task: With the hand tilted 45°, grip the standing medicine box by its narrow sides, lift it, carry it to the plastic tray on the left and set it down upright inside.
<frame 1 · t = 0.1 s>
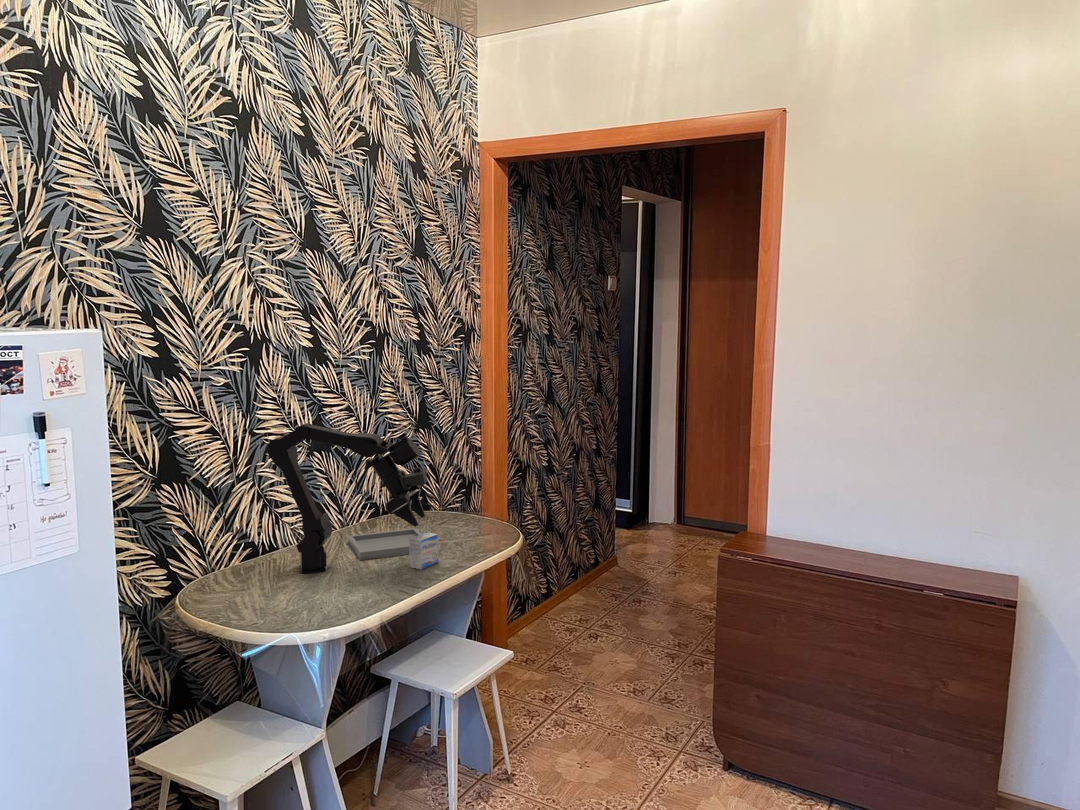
hand: (420, 521, 210), 15 cm above the table, tool tilted 35°, fingers open, 9 cm apart
medicine box: (424, 565, 218), on the table
tray: (389, 547, 234), on the table
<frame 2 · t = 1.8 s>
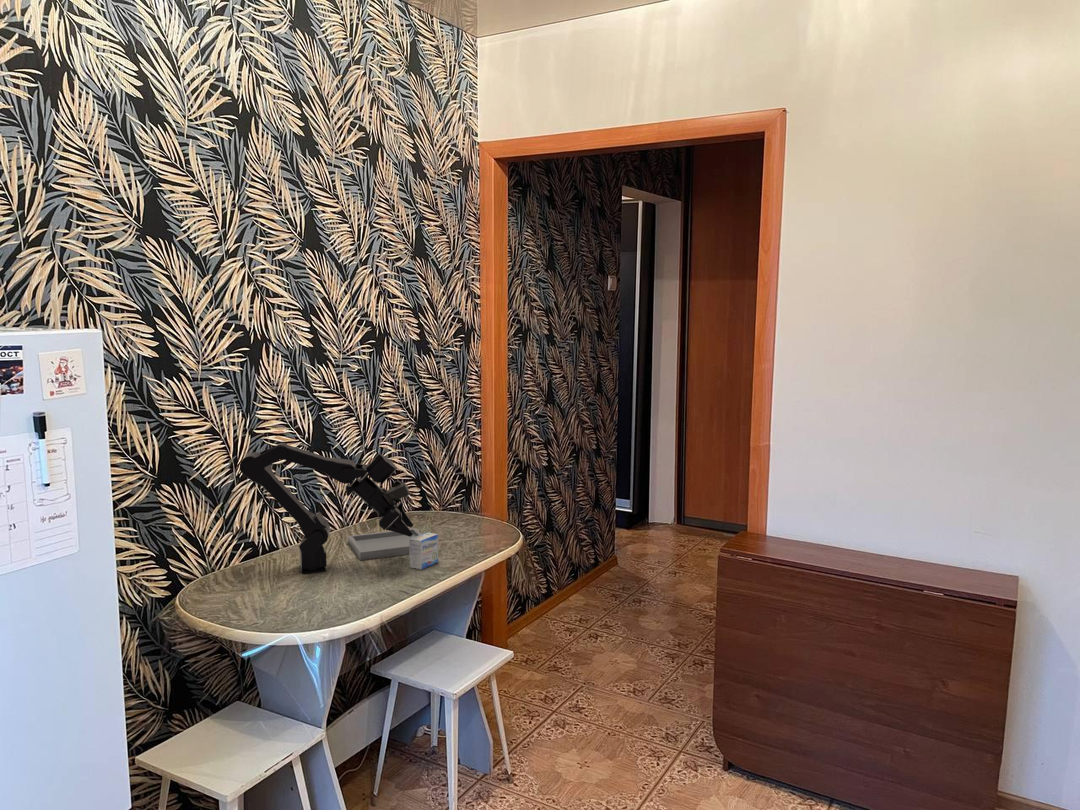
hand: (412, 530, 217), 10 cm above the table, tool tilted 45°, fingers open, 9 cm apart
nothing on the table moved.
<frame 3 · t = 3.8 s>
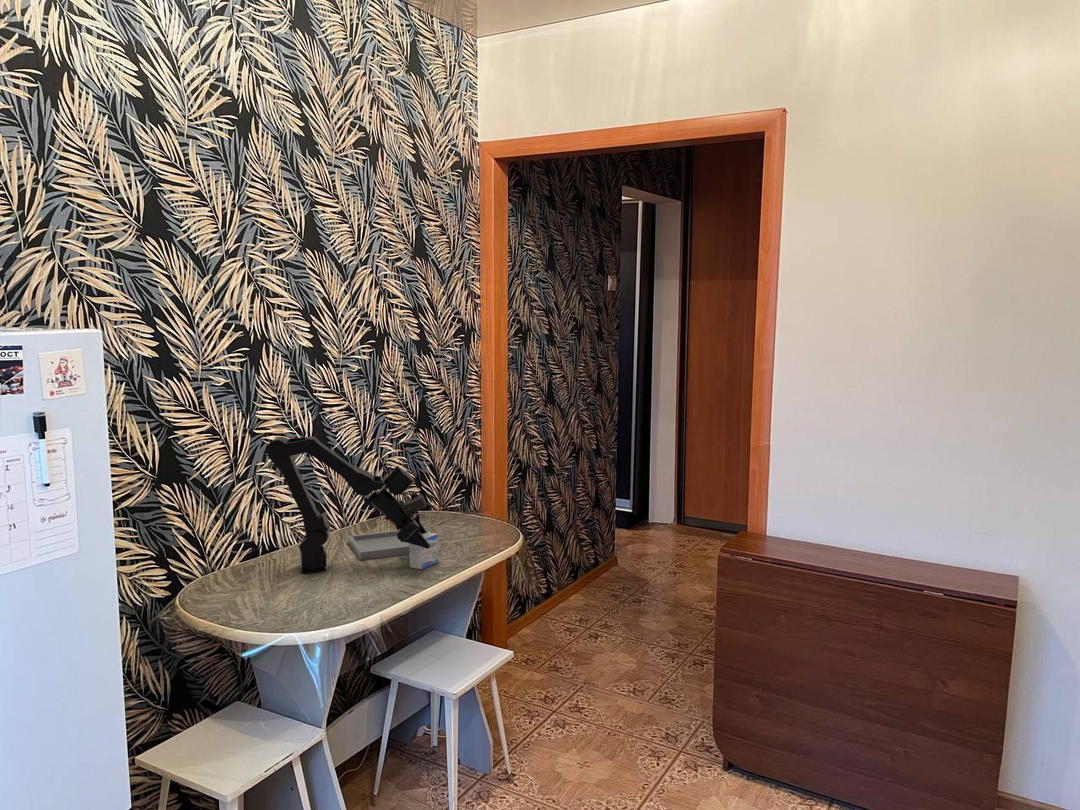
hand: (428, 542, 218), 7 cm above the table, tool tilted 45°, fingers closed on medicine box, 8 cm apart
medicine box: (424, 565, 218), on the table, touching gripper
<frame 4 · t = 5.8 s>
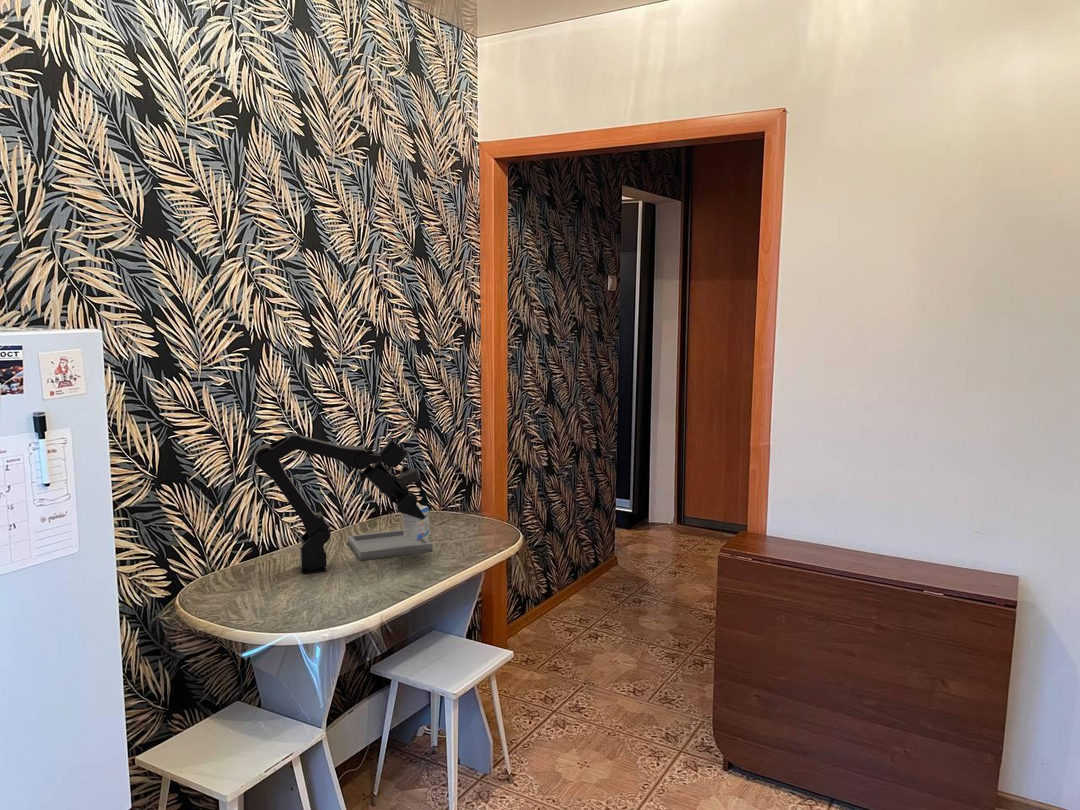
hand: (420, 514, 223), 13 cm above the table, tool tilted 45°, fingers closed on medicine box, 8 cm apart
medicine box: (416, 537, 223), point 6 cm above the table, touching gripper
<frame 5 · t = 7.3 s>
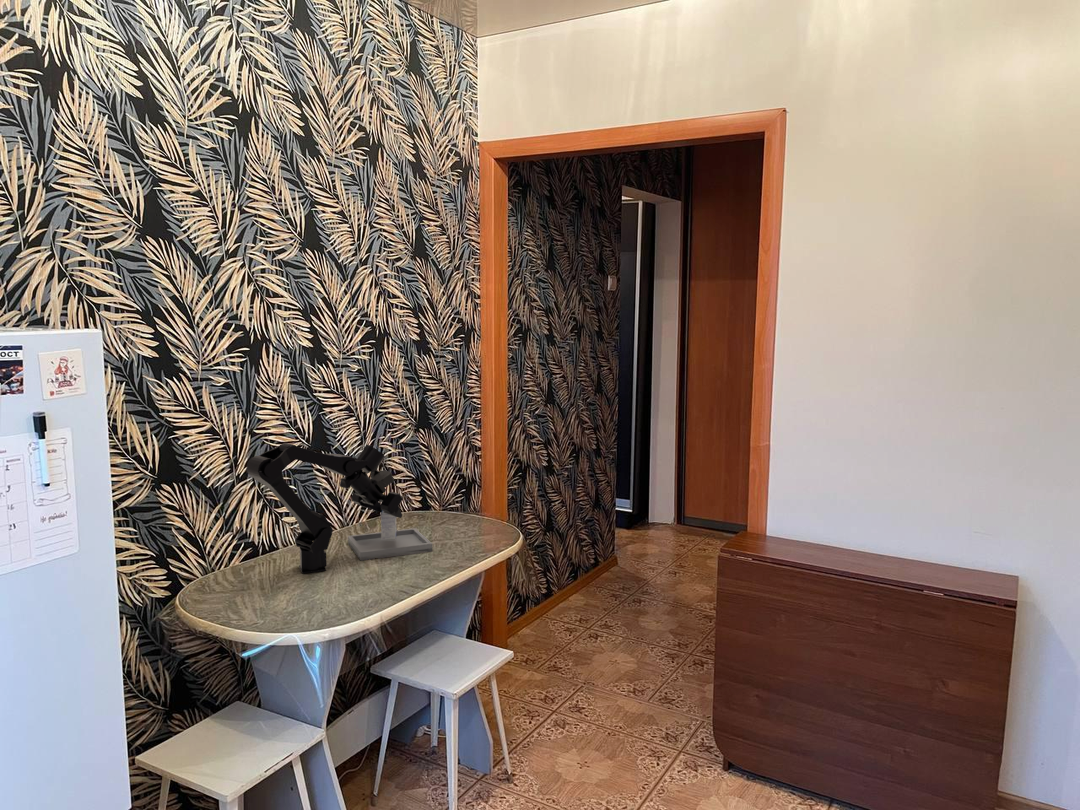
hand: (392, 514, 233), 10 cm above the table, tool tilted 45°, fingers closed on medicine box, 8 cm apart
medicine box: (388, 537, 233), point 3 cm above the table, touching gripper
when the fingers open (9 cm above the table, at t = 8.3 s): medicine box stays where it is, resting on tray.
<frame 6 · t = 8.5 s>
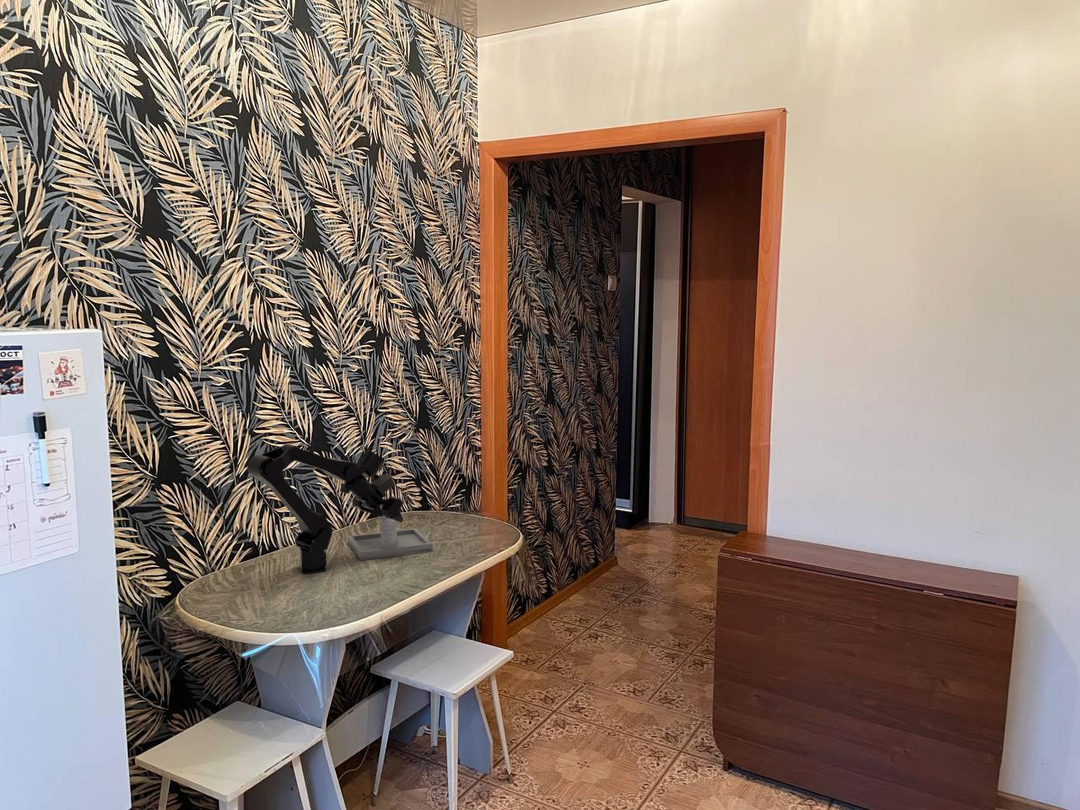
hand: (392, 518, 234), 9 cm above the table, tool tilted 45°, fingers open, 9 cm apart
medicine box: (389, 545, 234), point 1 cm above the table, touching tray
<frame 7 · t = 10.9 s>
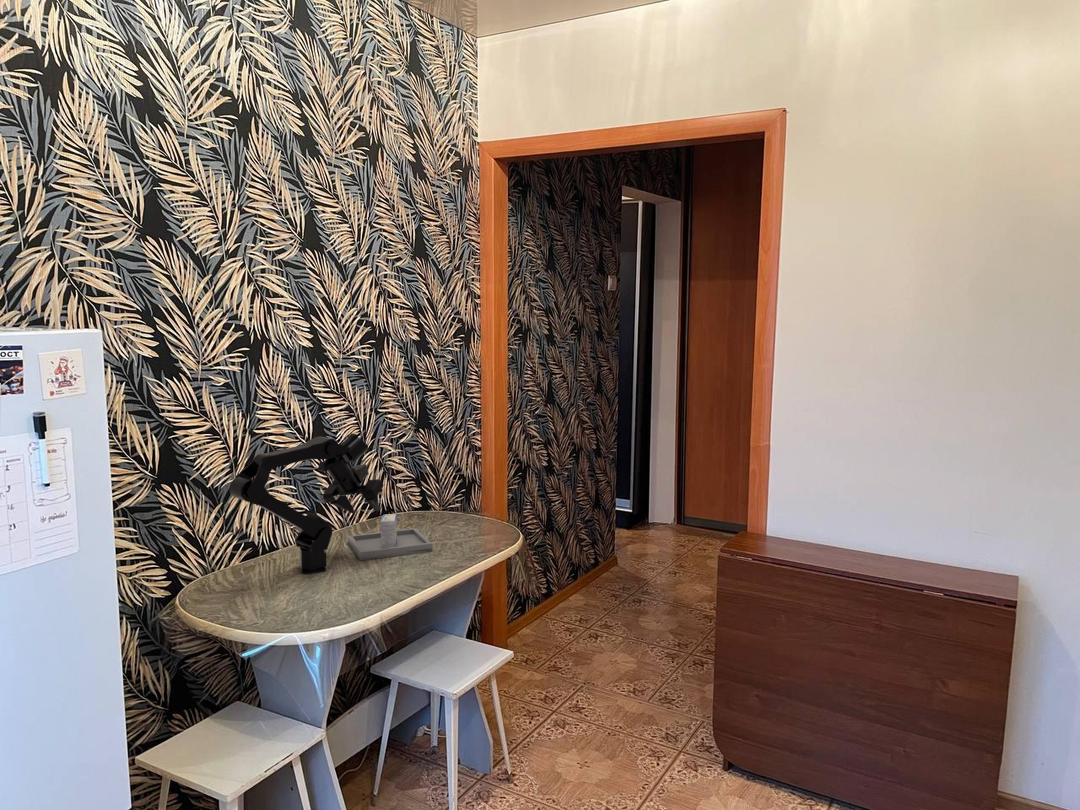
hand: (365, 511, 226), 13 cm above the table, tool tilted 35°, fingers open, 9 cm apart
nothing on the table moved.
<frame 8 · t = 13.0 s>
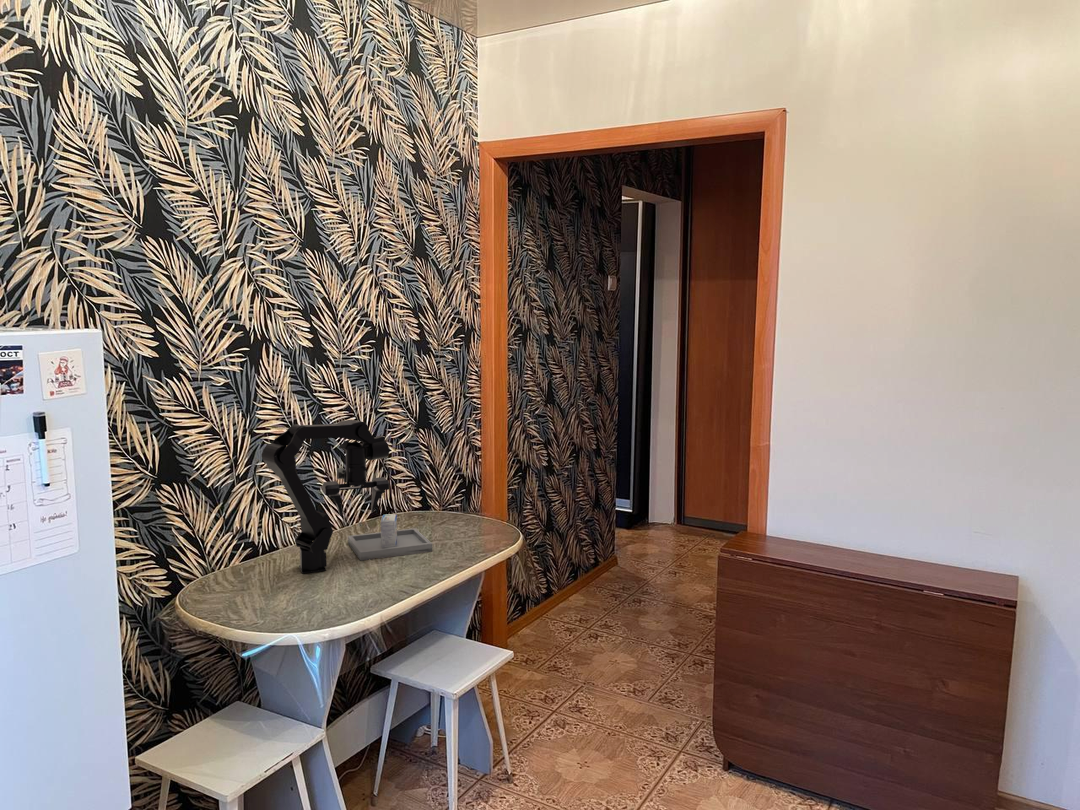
hand: (356, 514, 223), 13 cm above the table, tool pointing down, fingers open, 9 cm apart
nothing on the table moved.
at the end: medicine box inside the target area on the tray (0.1 cm from its centre), point 0.8 cm above the tray's base; medicine box tilted 0°; the gripper is holding nothing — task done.
